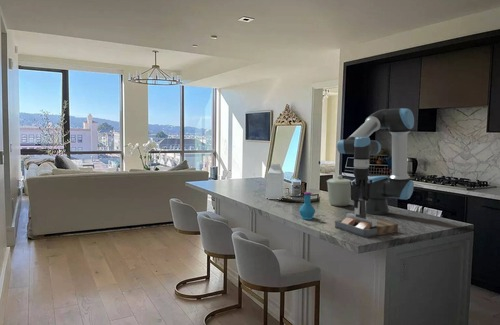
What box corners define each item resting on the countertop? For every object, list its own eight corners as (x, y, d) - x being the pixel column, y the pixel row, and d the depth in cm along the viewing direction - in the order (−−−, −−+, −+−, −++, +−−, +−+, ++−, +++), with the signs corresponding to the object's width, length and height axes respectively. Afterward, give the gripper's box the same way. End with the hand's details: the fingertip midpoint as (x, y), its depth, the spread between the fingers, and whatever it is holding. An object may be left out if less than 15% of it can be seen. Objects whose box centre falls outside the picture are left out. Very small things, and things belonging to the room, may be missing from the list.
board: (368, 223, 210) (368, 216, 210) (397, 231, 193) (398, 224, 192) (347, 226, 203) (347, 218, 203) (376, 235, 185) (376, 227, 185)
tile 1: (348, 220, 200) (346, 217, 199) (355, 222, 195) (353, 219, 195) (342, 226, 198) (340, 222, 197) (348, 228, 194) (347, 224, 193)
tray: (346, 226, 203) (346, 219, 203) (376, 235, 185) (377, 228, 185) (335, 227, 199) (335, 221, 199) (364, 237, 181) (365, 230, 181)
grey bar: (350, 218, 202) (349, 196, 200) (376, 225, 186) (375, 201, 185) (346, 219, 201) (345, 197, 199) (372, 227, 185) (371, 203, 183)
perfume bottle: (313, 216, 226) (314, 191, 224) (316, 219, 216) (317, 193, 215) (297, 216, 225) (298, 191, 224) (300, 219, 216) (301, 193, 215)
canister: (346, 208, 250) (347, 177, 248) (321, 205, 261) (322, 174, 259) (356, 204, 264) (357, 174, 263) (332, 201, 275) (333, 172, 274)
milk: (265, 199, 281) (265, 164, 279) (269, 196, 292) (269, 163, 290) (281, 200, 277) (281, 164, 275) (284, 197, 288) (285, 163, 286)
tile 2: (363, 224, 191) (361, 221, 190) (370, 227, 186) (368, 223, 185) (356, 231, 189) (354, 227, 188) (364, 233, 184) (362, 229, 184)
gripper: (354, 169, 183) (353, 216, 185) (379, 167, 191) (377, 213, 193) (343, 167, 190) (342, 213, 192) (367, 166, 198) (366, 210, 200)
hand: (360, 213), depth 193 cm, fingers closed on grey bar, 4 cm apart
